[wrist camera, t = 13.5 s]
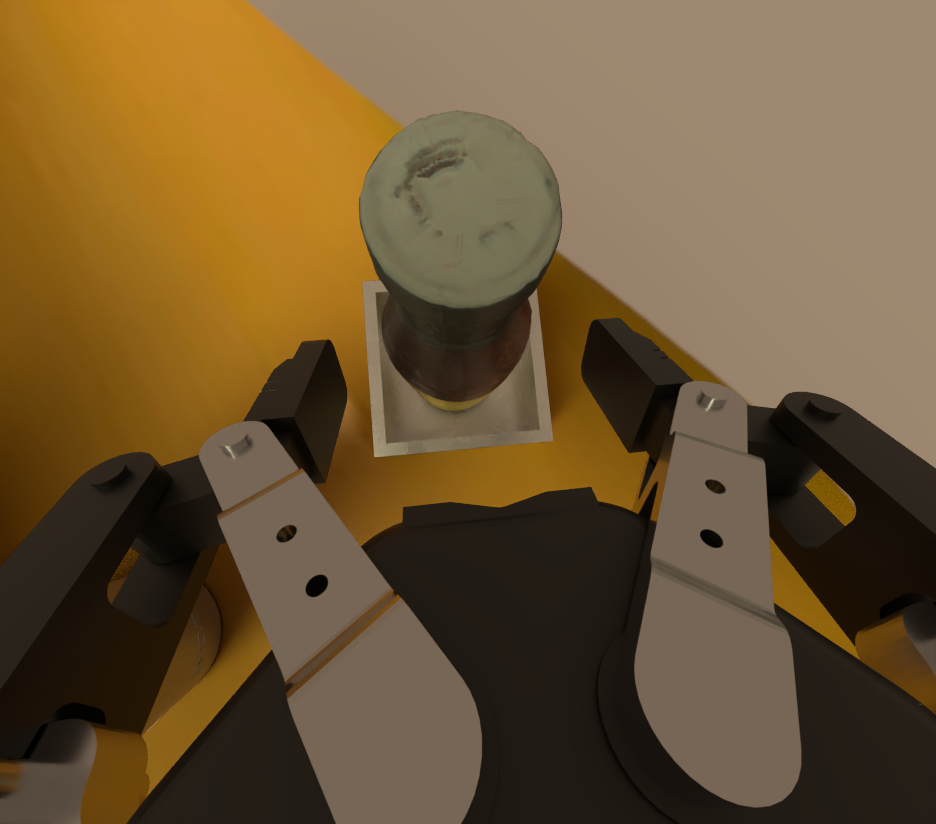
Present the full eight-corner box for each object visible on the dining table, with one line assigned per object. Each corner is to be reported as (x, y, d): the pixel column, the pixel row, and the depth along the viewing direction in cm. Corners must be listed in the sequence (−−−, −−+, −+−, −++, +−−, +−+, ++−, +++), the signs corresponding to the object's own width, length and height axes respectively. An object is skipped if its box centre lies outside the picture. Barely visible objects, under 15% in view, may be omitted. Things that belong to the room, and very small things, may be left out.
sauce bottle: (414, 332, 26) (302, 10, 7) (495, 335, 27) (617, 33, 7) (411, 416, 26) (279, 340, 6) (493, 418, 26) (622, 351, 6)
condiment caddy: (387, 454, 26) (374, 457, 22) (377, 307, 27) (362, 281, 23) (536, 440, 27) (553, 440, 22) (521, 297, 28) (534, 270, 23)
